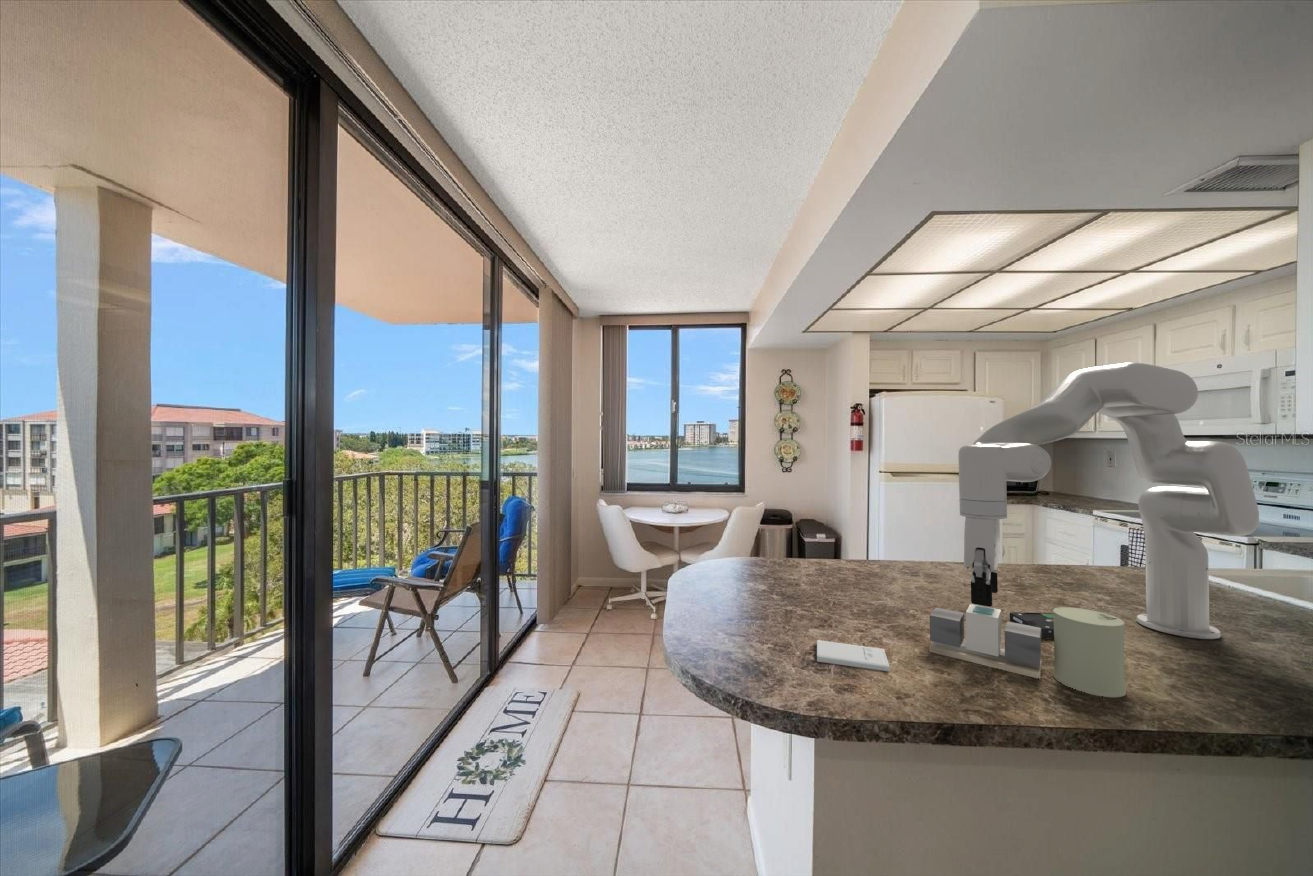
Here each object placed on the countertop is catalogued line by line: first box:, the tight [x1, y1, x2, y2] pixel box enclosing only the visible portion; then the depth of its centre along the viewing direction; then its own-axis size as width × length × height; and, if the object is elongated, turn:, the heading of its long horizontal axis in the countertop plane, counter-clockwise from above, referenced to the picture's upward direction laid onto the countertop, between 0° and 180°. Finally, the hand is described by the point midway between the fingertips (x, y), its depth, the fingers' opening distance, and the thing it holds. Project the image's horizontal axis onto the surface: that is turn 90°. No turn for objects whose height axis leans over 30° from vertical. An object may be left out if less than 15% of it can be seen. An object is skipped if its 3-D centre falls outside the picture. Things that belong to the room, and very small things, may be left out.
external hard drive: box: [816, 639, 891, 672], centre depth 91 cm, size 2×8×12 cm
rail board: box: [929, 607, 1042, 680], centre depth 91 cm, size 7×17×7 cm, turn 50°
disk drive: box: [1009, 611, 1054, 640], centre depth 105 cm, size 10×3×15 cm
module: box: [965, 603, 1003, 656], centre depth 91 cm, size 6×5×7 cm
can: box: [1052, 606, 1127, 699], centre depth 81 cm, size 9×9×12 cm
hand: (984, 598), depth 91 cm, fingers open, 9 cm apart
